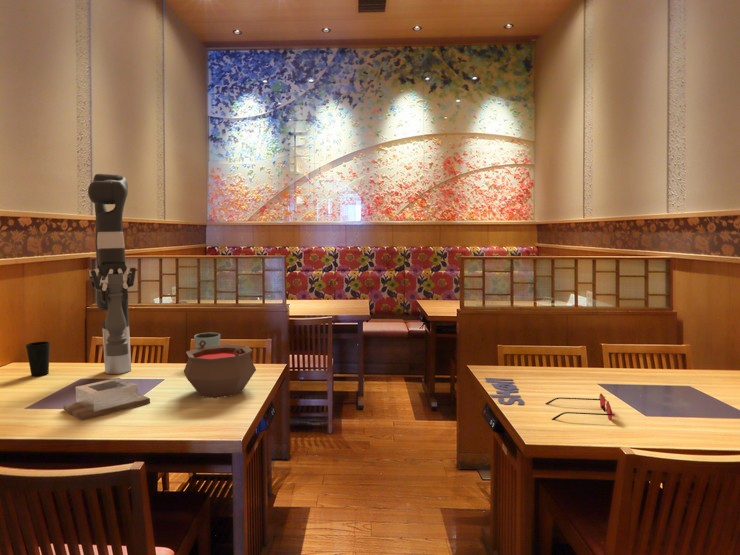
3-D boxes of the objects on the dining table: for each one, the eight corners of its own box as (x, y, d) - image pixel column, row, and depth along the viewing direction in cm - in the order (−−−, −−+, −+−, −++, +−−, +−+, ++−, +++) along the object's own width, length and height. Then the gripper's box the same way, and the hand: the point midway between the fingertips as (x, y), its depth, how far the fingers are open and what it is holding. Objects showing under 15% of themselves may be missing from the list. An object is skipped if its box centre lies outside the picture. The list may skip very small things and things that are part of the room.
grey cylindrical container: (213, 359, 223) (212, 331, 222) (226, 364, 216) (225, 334, 215) (190, 364, 216) (189, 335, 215) (202, 368, 209) (201, 338, 208)
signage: (526, 404, 161) (492, 403, 162) (526, 406, 161) (492, 405, 162) (513, 378, 189) (484, 377, 190) (513, 380, 189) (484, 379, 190)
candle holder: (132, 352, 170) (127, 273, 168) (121, 356, 164) (117, 274, 162) (113, 352, 170) (109, 273, 169) (102, 356, 164) (97, 274, 162)
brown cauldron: (169, 392, 179) (167, 344, 177) (231, 377, 196) (230, 333, 195) (207, 408, 163) (205, 355, 161) (271, 390, 180) (270, 342, 179)
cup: (55, 373, 205) (53, 342, 204) (34, 378, 199) (32, 346, 197) (45, 371, 209) (43, 340, 208) (24, 375, 203) (21, 344, 202)
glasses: (615, 424, 146) (615, 406, 145) (551, 421, 149) (551, 403, 148) (603, 407, 159) (603, 391, 159) (545, 405, 162) (545, 388, 162)
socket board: (63, 410, 162) (63, 405, 162) (129, 394, 177) (129, 390, 177) (82, 420, 153) (82, 415, 153) (150, 402, 168) (149, 398, 168)
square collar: (76, 402, 164) (75, 386, 164) (119, 392, 174) (118, 377, 174) (94, 411, 156) (93, 395, 155) (138, 400, 166) (137, 384, 165)
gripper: (128, 246, 172) (131, 298, 174) (81, 247, 162) (84, 303, 163) (139, 246, 168) (142, 300, 169) (92, 247, 157) (95, 305, 158)
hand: (114, 301), depth 166 cm, fingers closed on candle holder, 5 cm apart
